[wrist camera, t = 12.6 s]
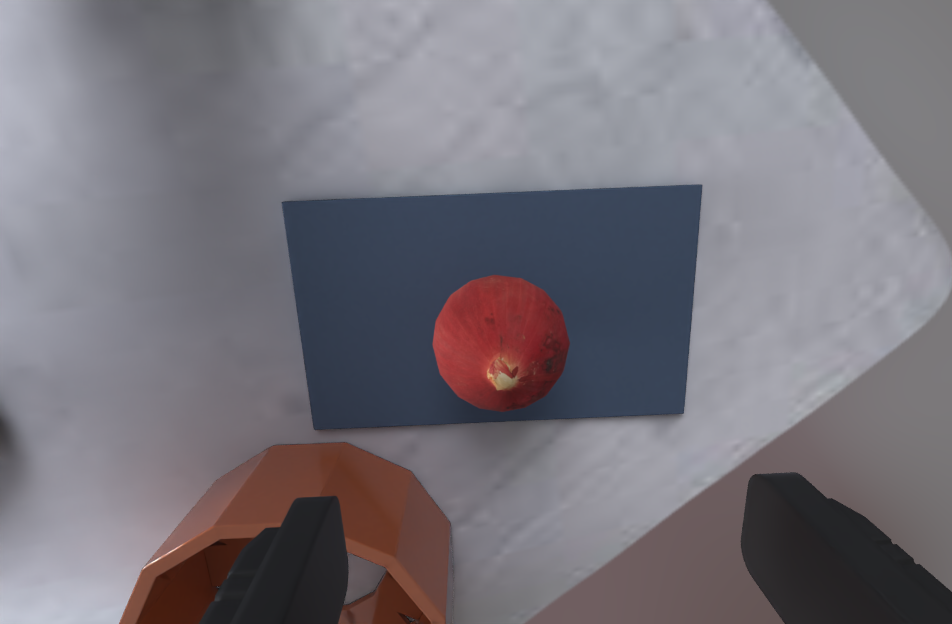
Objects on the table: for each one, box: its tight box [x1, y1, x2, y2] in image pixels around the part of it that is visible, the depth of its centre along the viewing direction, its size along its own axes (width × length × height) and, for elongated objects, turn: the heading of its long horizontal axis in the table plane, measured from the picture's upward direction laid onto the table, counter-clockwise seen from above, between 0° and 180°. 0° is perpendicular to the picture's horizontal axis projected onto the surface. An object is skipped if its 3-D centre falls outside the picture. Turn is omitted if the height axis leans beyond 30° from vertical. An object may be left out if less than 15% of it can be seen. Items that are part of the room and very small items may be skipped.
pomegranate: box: [433, 275, 570, 412], centre depth 21 cm, size 6×6×8 cm
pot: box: [119, 442, 454, 624], centre depth 26 cm, size 15×15×6 cm
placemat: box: [282, 185, 702, 430], centre depth 25 cm, size 12×20×1 cm, turn 92°
